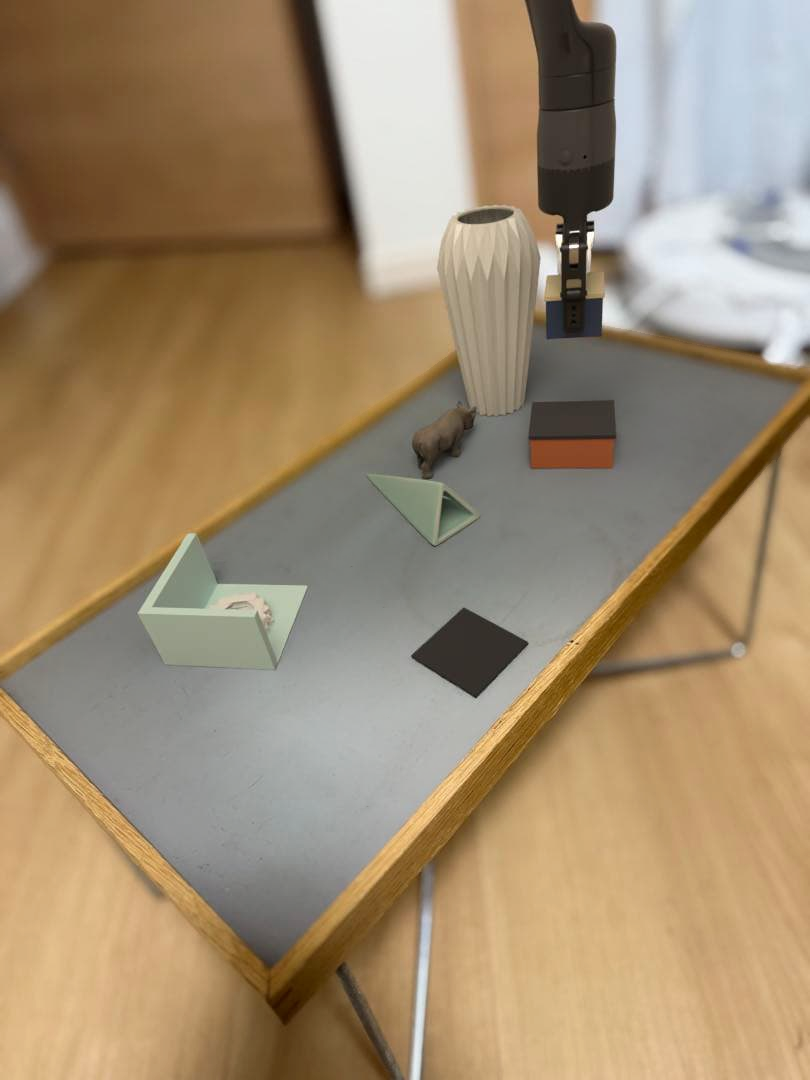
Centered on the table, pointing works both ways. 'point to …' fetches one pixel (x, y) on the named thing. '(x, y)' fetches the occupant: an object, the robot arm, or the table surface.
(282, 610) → the right angle wall
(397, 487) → the planter
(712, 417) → the table surface
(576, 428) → the bottom container
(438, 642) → the mat
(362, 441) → the table surface
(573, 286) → the top container
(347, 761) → the table surface
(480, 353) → the vase
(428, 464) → the rhino figurine
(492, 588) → the table surface
